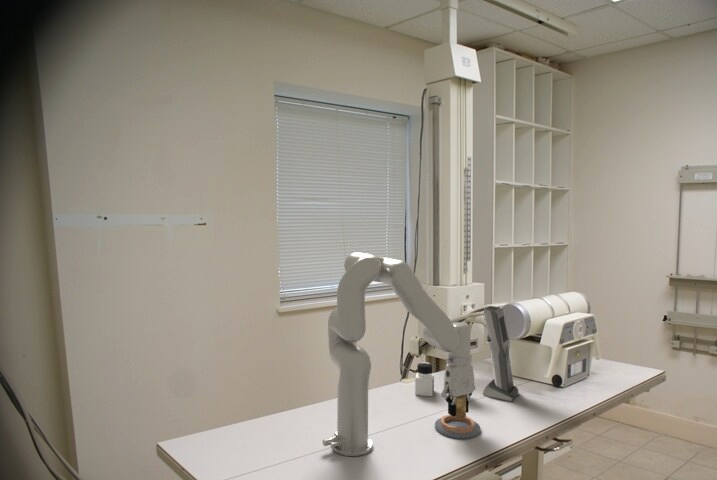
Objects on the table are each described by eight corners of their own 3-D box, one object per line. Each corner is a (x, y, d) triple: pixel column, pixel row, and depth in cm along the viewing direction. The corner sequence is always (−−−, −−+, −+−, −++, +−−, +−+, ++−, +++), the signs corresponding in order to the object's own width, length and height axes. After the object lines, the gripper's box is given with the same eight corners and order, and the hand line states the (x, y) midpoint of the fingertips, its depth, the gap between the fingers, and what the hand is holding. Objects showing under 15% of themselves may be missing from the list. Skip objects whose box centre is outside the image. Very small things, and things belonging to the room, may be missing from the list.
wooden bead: (457, 419, 151) (458, 398, 151) (447, 414, 155) (447, 393, 155) (469, 416, 154) (469, 395, 153) (458, 411, 158) (458, 390, 158)
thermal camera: (488, 386, 194) (489, 305, 193) (519, 392, 188) (521, 308, 186) (480, 395, 184) (481, 309, 183) (512, 402, 178) (514, 313, 176)
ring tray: (456, 443, 144) (456, 435, 144) (425, 424, 157) (425, 417, 157) (489, 432, 152) (490, 425, 152) (458, 415, 165) (458, 408, 165)
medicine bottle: (433, 396, 183) (433, 367, 182) (415, 395, 184) (415, 365, 184) (433, 390, 190) (434, 361, 189) (416, 388, 191) (416, 360, 190)
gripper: (447, 367, 146) (446, 423, 147) (485, 358, 155) (484, 411, 156) (431, 361, 152) (431, 414, 153) (469, 353, 161) (468, 404, 162)
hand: (458, 412), depth 154 cm, fingers closed on wooden bead, 4 cm apart
